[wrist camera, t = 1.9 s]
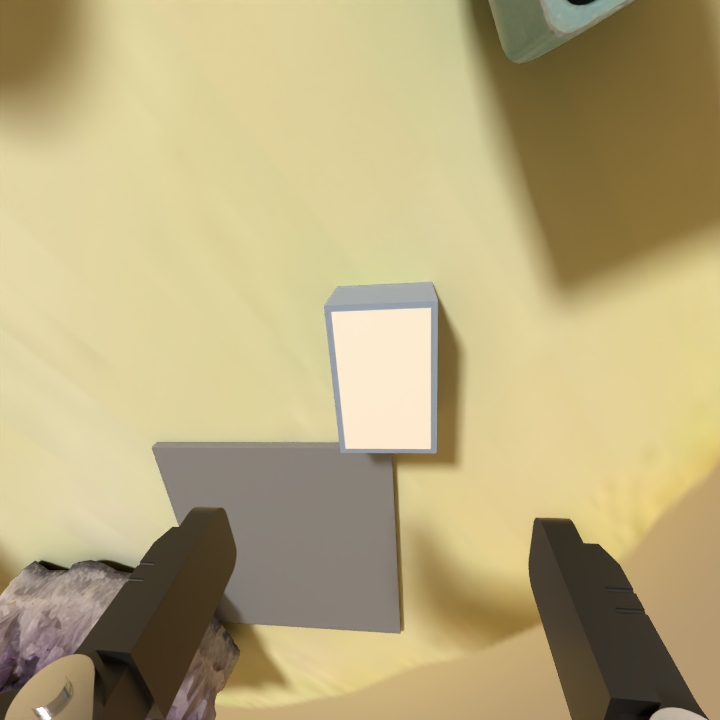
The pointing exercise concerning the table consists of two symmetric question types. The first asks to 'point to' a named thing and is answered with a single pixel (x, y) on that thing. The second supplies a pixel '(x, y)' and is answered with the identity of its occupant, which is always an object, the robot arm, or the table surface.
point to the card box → (384, 366)
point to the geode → (77, 618)
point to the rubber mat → (296, 530)
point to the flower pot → (546, 23)
